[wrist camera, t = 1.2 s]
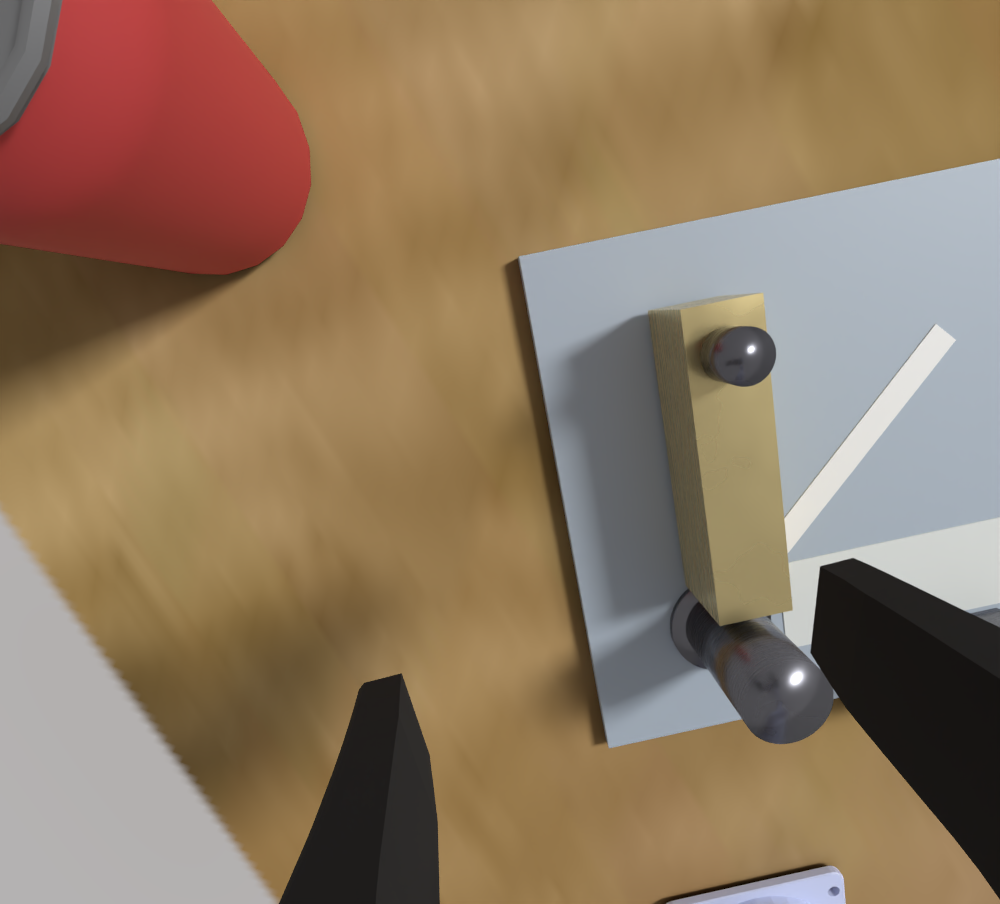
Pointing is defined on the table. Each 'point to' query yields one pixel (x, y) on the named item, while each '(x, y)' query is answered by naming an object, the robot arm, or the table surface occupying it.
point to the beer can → (144, 136)
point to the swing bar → (724, 453)
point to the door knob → (755, 671)
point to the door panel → (782, 412)
